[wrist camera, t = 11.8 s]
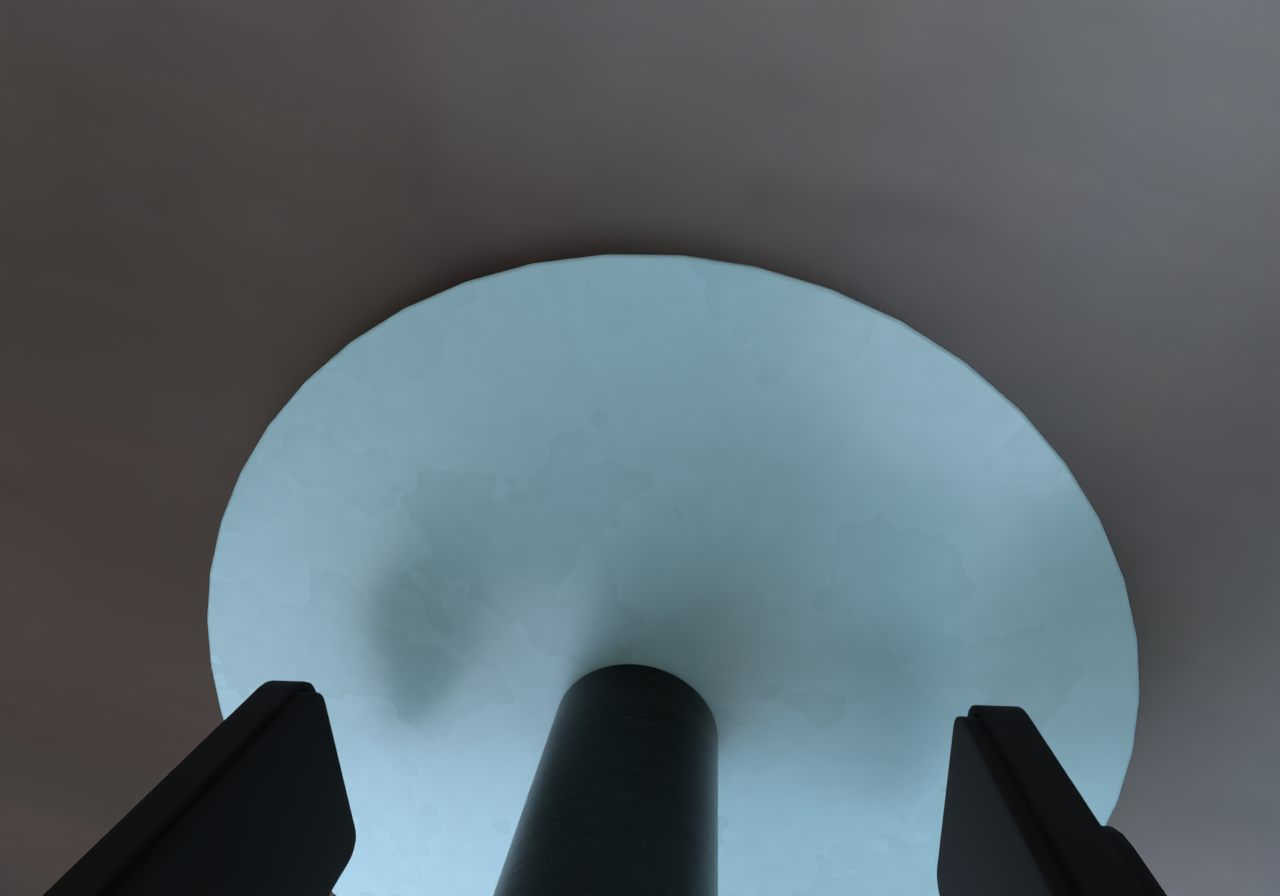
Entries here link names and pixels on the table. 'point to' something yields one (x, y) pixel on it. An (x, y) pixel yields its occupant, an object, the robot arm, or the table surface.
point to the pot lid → (664, 586)
